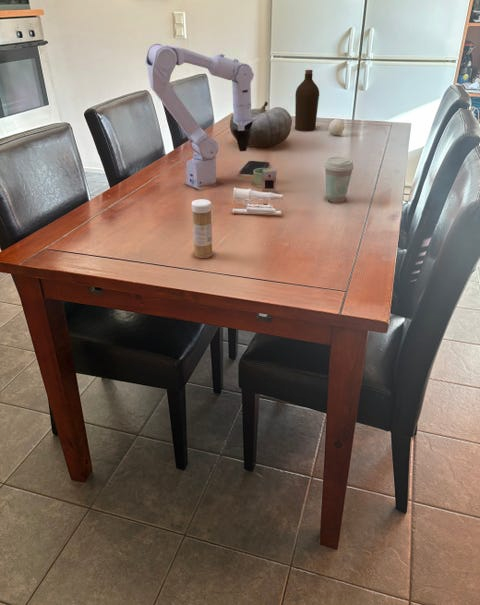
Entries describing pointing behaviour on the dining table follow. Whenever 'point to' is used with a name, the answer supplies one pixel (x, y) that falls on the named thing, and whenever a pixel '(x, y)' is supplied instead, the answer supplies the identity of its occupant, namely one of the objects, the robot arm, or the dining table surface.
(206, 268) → the dining table surface
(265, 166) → the phone
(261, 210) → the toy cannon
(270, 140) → the gourd
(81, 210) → the dining table surface
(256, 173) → the cup
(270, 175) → the rectangular block
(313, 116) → the olive oil
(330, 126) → the baseball
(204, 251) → the sprinkles bottle
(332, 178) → the coffee cup
